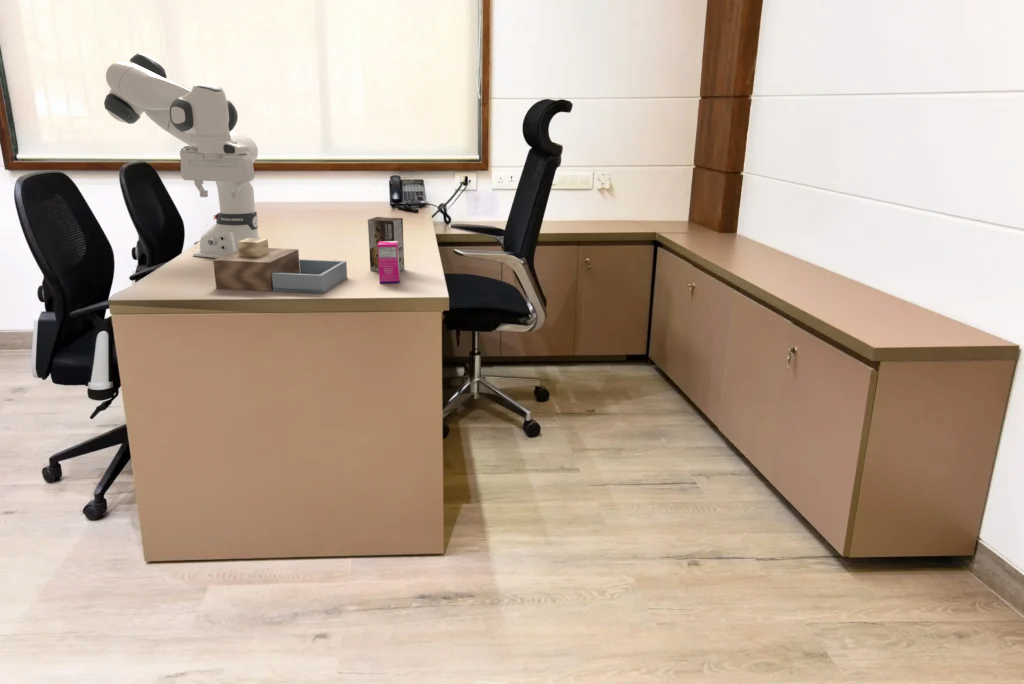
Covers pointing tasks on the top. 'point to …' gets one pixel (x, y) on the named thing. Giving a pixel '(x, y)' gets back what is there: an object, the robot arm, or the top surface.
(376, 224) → the coffee box
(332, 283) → the box
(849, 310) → the top surface
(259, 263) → the zigzag grain wood block
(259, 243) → the birch block
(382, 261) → the supplement box
